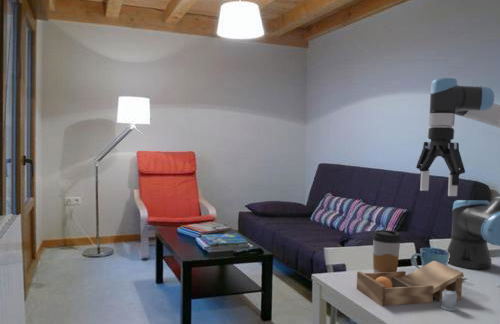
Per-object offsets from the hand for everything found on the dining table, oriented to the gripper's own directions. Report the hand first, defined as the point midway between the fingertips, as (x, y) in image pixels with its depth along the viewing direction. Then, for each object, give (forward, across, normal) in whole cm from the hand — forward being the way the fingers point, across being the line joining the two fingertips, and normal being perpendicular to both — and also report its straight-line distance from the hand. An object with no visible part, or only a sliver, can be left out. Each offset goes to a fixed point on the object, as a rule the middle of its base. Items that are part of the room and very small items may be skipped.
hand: (437, 193), depth 140 cm
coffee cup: (+27, -3, +20) cm, 34 cm away
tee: (+27, -26, +15) cm, 40 cm away
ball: (+24, -15, +28) cm, 39 cm away
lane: (+27, -15, +19) cm, 36 cm away
